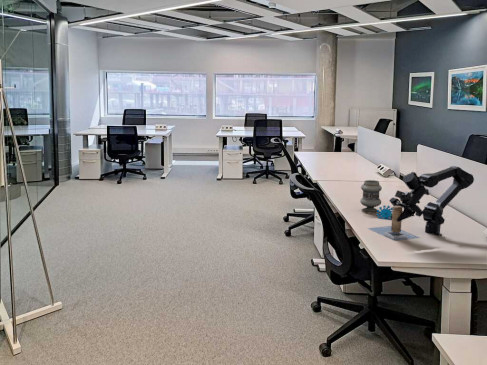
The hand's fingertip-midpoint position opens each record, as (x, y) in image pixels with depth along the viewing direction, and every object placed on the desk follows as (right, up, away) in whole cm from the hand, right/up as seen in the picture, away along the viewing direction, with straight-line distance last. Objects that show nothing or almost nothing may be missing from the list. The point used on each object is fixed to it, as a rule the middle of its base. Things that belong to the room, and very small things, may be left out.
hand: (394, 219), depth 231 cm
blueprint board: (+2, -8, +9) cm, 12 cm away
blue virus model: (+7, -3, +37) cm, 38 cm away
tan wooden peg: (+1, -6, +2) cm, 6 cm away
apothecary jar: (+3, +1, +57) cm, 57 cm away
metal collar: (+1, -8, +2) cm, 9 cm away
